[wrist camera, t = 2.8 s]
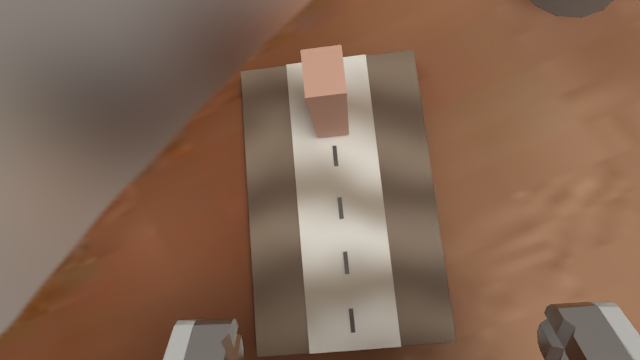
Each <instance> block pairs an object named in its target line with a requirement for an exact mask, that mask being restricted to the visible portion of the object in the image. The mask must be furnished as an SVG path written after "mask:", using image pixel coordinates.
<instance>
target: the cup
mask: <svg viewBox="0 0 640 360" xmlns="http://www.w3.org/2000/svg"><path fill="white" fill-rule="evenodd" d="M531 1H532V2H533V3H534V4H535V5H536V6H537V7H539V8H542V9H544V10H546V11H548V12H550V13H552V14H554V15H556V16H565V17H580V18H581V17H584V16H587V15H590V14H593V13H596V12H599V11H602V10H604V9H605V8H606V7H607V6H608V5H609V4H610V3H611V2H612V1H613V0H531Z"/></svg>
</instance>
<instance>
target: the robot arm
mask: <svg viewBox="0 0 640 360" xmlns="http://www.w3.org/2000/svg"><path fill="white" fill-rule="evenodd" d="M544 313H545V315H546V317H547V319H546V320H544V321H543V322H541V323H540V325H539V328H538V330H537V338H538V344H539V348H540V351H541V353H542V355H543V357H544V360H640V335H639V334H638V332H637V331H636V330H635V328H634V327H633V326H632V324H631V323H630V322H629V320H628V319H627V317H626V316H625V315H624V313H623V312H622V311H621V309H620V308H619V307H618V305H616V304H615V303H614V302H609V301H606V302H591V303H590V302H579V303H563V304H551V305H549V306H547V308H546V310H545V312H544ZM237 330H238V324H237V321H236V319H207V320H178V321H177V323H176V324H175V326H174V327H173V330H172V333H171V336H170V339H169V342H168V345H167V348H166V351H165V354H164V357H163V360H243V354H244V348H243V341H242V337H241V336H240V335H239V334H237Z"/></svg>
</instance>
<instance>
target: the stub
mask: <svg viewBox="0 0 640 360" xmlns="http://www.w3.org/2000/svg"><path fill="white" fill-rule="evenodd" d="M301 59H302V71H303V82H304V93H305V100H306V103H307V106H308V109H309V112H310V115H311V119H312V122H313V125H314V128H315V131H316V134H317V137H318V138H322V137H331V136H340V135H349V125H348V107H347V91H346V82H345V73H344V63H343V54H342V45H336V46H328V47H320V48H313V49H305V50H301Z"/></svg>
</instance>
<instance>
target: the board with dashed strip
mask: <svg viewBox="0 0 640 360" xmlns="http://www.w3.org/2000/svg"><path fill="white" fill-rule="evenodd" d="M343 63H344V73H345V82H346V91H347V107H348V125H349V135H340V136H331V137H322V138H318V137H317V134H316V131H315V128H314V125H313V122H312V119H311V115H310V112H309V109H308V106H307V103H306V100H305V93H304V82H303V71H302V63H295V64H287V65H286V66H280V67H273V68H265V69H257V70H249V71H241V84H242V102H243V119H244V137H245V154H246V172H247V189H248V207H249V224H250V242H251V259H252V277H253V294H254V312H255V329H256V347H257V357H267V356H280V355H293V354H306V353H310V354H314V353H327V352H340V351H353V350H366V349H379V348H392V347H401V346H410V345H423V344H436V343H449V342H456V336H455V329H454V322H453V315H452V309H451V302H450V295H449V288H448V281H447V275H446V268H445V261H444V254H443V247H442V240H441V234H440V227H439V220H438V213H437V206H436V200H435V193H434V186H433V179H432V172H431V166H430V159H429V152H428V145H427V138H426V131H425V125H424V118H423V111H422V104H421V97H420V91H419V84H418V77H417V70H416V63H415V56H414V50H408V51H400V52H392V53H384V54H376V55H368V56H366V55H358V56H350V57H343Z"/></svg>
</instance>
